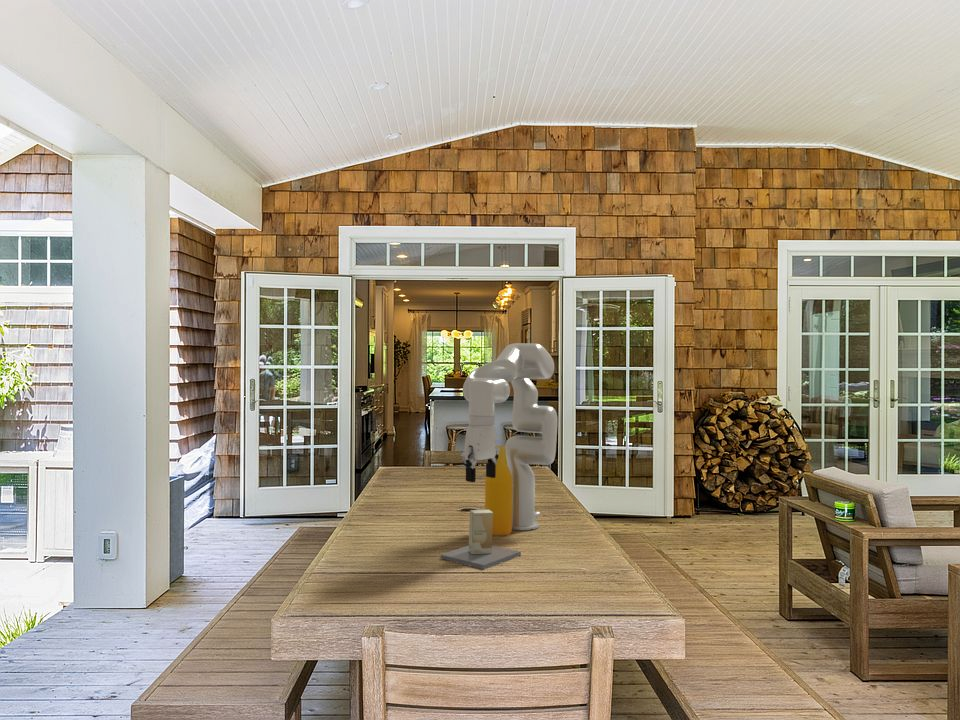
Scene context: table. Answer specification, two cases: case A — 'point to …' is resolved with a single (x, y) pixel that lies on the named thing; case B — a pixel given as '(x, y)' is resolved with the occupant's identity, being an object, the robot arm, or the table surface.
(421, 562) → the table surface
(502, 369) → the robot arm
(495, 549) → the slate board
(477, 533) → the skincare box
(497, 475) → the beer bottle
